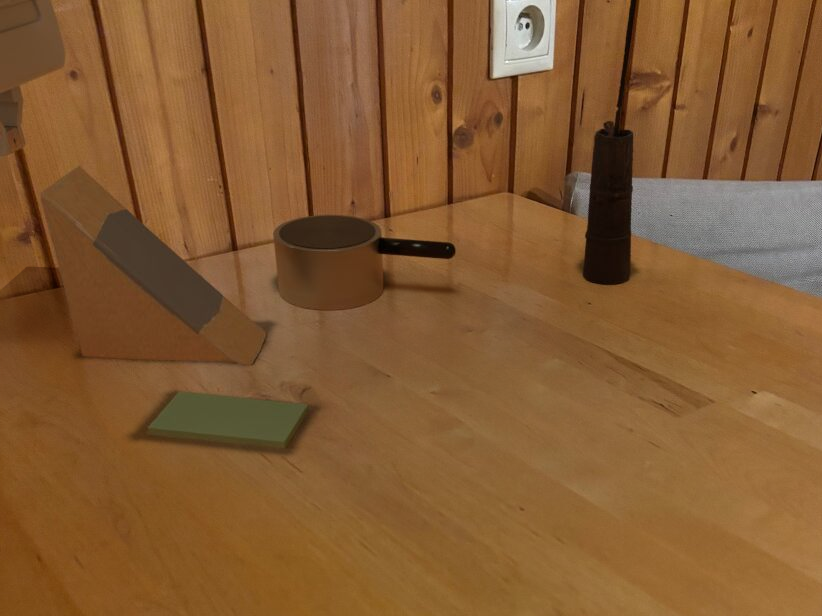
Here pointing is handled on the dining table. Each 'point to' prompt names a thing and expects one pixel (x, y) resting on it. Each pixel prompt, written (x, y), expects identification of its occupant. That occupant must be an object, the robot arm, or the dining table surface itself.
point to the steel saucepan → (339, 260)
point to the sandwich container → (136, 285)
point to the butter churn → (611, 194)
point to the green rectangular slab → (229, 419)
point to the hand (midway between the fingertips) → (8, 151)
